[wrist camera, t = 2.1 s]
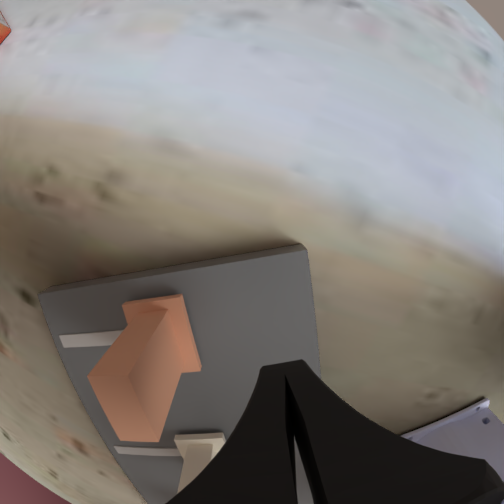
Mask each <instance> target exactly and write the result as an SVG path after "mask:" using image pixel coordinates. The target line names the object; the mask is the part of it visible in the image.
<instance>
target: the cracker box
mask: <svg viewBox="0 0 504 504" xmlns="http://www.w3.org/2000/svg"><path fill="white" fill-rule="evenodd" d="M10 32H11V29H10V27H9V26H8V24H7V22H6V20H5V18H4V17H3V15H2V13H1V12H0V44H1V43H2V41H3V40H4V39H5V38H6V37H7V36H8V34H9V33H10Z"/></svg>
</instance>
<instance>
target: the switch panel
mask: <svg viewBox="0 0 504 504" xmlns="http://www.w3.org/2000/svg"><path fill="white" fill-rule="evenodd" d="M176 294H182V295H183V299H184V303H185V307H186V311H187V314H188V318H189V322H190V326H191V330H192V333H193V337H194V341H195V344H196V348H197V351H198V355H199V358H200V362H201V365H202V367H201V371H197V372H186V373H181V376H180V379H179V382H178V385H177V388H176V391H175V394H174V397H173V400H172V403H171V406H170V409H169V412H168V415H167V418H166V421H165V425H164V428H163V431H162V434H161V437H160V440H159V442H137V441H120V439H119V438H118V436H117V434H116V432H115V431H114V429H113V427H112V425H111V423H110V422H109V420H108V418H107V416H106V414H105V412H104V410H103V408H102V407H101V405H100V403H99V401H98V399H97V397H96V395H95V392H94V390H93V388H92V386H91V384H90V382H89V380H88V378H87V375H88V374H89V373H90V372H91V370H92V369H93V368H94V366H95V365H96V364H97V363H98V361H99V360H100V359H101V358H102V356H103V355H104V354H105V353H106V351H107V350H108V349H109V348H110V346H111V345H112V344H113V343H114V341H115V340H116V339H117V338H118V336H119V335H120V334H121V333H122V332H123V330H124V329H125V328H126V327H127V325H128V324H127V321H126V317H125V314H124V311H123V308H122V305H123V304H124V303H125V302H127V301H135V300H142V299H149V298H156V297H163V296H170V295H176ZM38 297H39V301H40V304H41V307H42V310H43V313H44V316H45V318H46V321H47V324H48V327H49V330H50V332H51V335H52V337H53V340H54V343H55V345H56V347H57V350H58V352H59V355H60V357H61V359H62V362H63V364H64V366H65V369H66V371H67V373H68V375H69V377H70V379H71V381H72V384H73V386H74V388H75V390H76V392H77V394H78V396H79V398H80V400H81V402H82V404H83V405H84V407H85V409H86V411H87V413H88V415H89V416H90V418H91V420H92V422H93V424H94V425H95V427H96V429H97V430H98V432H99V434H100V436H101V437H102V439H103V440H104V442H105V444H106V445H107V447H108V448H109V450H110V452H111V453H112V455H113V456H114V458H115V459H116V461H117V462H118V464H119V465H120V467H121V468H122V470H123V471H124V472H125V474H126V475H127V477H128V478H129V479H130V481H131V482H132V483H133V485H134V486H135V487H136V489H137V490H138V491H139V493H140V494H141V495H142V497H143V498H144V499H145V500H146V502H147V503H148V504H165V503H167V502H168V501H169V500H171V499H172V498H173V497H174V496H175V495H176V494H177V492H178V487H179V482H180V477H181V472H182V468H183V463H184V459H183V457H182V456H181V454H180V452H179V450H178V448H177V446H176V443H175V441H174V438H175V435H185V434H207V433H221V432H223V434H224V437H225V440H226V441H227V439H228V438H229V436H230V435H231V433H232V432H233V430H234V429H235V427H236V425H237V423H238V421H239V420H240V418H241V416H242V414H243V413H244V411H245V409H246V407H247V404H248V402H249V400H250V398H251V395H252V393H253V391H254V388H255V385H256V382H257V379H258V376H259V371H260V369H261V367H262V366H266V365H272V364H278V363H284V362H289V361H295V360H300V359H303V360H304V361H306V363H307V364H308V365H309V367H310V368H311V369H312V370H313V372H314V373H315V374H316V375H317V376H318V377H319V378H320V379H321V372H320V360H319V349H318V339H317V328H316V319H315V309H314V300H313V292H312V283H311V275H310V267H309V259H308V252H307V249H306V248H305V247H304V246H303V245H302V244H298V245H292V246H286V247H280V248H274V249H268V250H262V251H256V252H251V253H245V254H239V255H233V256H227V257H221V258H215V259H210V260H204V261H198V262H192V263H186V264H180V265H174V266H168V267H163V268H157V269H151V270H145V271H139V272H133V273H127V274H122V275H116V276H110V277H104V278H98V279H92V280H86V281H80V282H74V283H69V284H63V285H57V286H51V287H49V288H47V289H46V290H44V291H42V292H40V293H39V294H38ZM294 443H295V462H296V483H297V498H298V504H314V503H313V498H312V494H311V490H310V487H309V484H308V480H307V477H306V474H305V470H304V467H303V464H302V461H301V457H300V454H299V451H298V447H297V444H296V441H295V437H294Z"/></svg>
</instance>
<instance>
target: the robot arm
mask: <svg viewBox="0 0 504 504" xmlns="http://www.w3.org/2000/svg"><path fill="white" fill-rule="evenodd" d="M489 402H490V400H489V399H488V398H485V399H483V400H481V401H479V402H477V403H475V404H473V405H471V406H469V407H467V408H465V409H463V410H461V411H459V412H457V413H455V414H453V415H450V416H448V417H446V418H444V419H441V420H439V421H437V422H434V423H432V424H430V425H427V426H425V427H422V428H419V429H417V430H414V431H412V432H409V433H406V434H403V435H401V436H399V435H397V434H394V433H392V432H391V431H389V430H387V429H385V428H383V427H381V426H379V425H378V424H376V423H374V422H373V421H371V420H370V419H368V418H366V417H365V416H363V415H362V414H360V413H359V412H358V411H356V410H355V409H354V408H352V407H351V406H350V405H348V404H347V403H346V402H345V401H343V400H342V399H341V398H340V397H339V396H337V395H336V394H335V393H334V392H333V391H332V390H331V389H330V388H329V387H328V386H327V385H326V384H325V383H324V382H323V381H322V380H321V379H320V378H319V377H318V376H317V375H316V374H315V373H314V372H313V370H312V369H311V368H310V367H309V365H308V364H307V363H306V361H304V360H303V359H300V360H295V361H289V362H284V363H278V364H272V365H266V366H262V367H261V369H260V371H259V376H258V379H257V382H256V385H255V388H254V391H253V393H252V395H251V398H250V400H249V402H248V404H247V407H246V409H245V411H244V413H243V414H242V416H241V418H240V420H239V421H238V423H237V425H236V427H235V429H234V430H233V432H232V433H231V435H230V436H229V438H228V439H227V441H226V442H225V444H224V445H223V446H222V448H221V449H220V450H219V452H218V453H217V454H216V455H215V457H214V458H213V459H212V460H211V461H210V462H209V464H208V465H207V466H206V467H205V468H204V469H203V470H202V471H201V472H200V473H199V475H198V476H197V477H196V478H195V479H194V480H192V481H191V482H190V483H189V484H188V485H187V486H186V487H185V488H183V489H182V490H181V491H180V492H179V493H178V494H176V495H175V496H174V497H173V498H172V499H171V500H169V501H168V502H167V503H165V504H298V498H297V483H296V462H295V443H294V437H295V441H296V444H297V447H298V451H299V454H300V457H301V461H302V464H303V467H304V470H305V474H306V477H307V480H308V484H309V487H310V490H311V494H312V498H313V503H314V504H504V424H503V423H502V422H501V421H500V420H499V419H498V418H497V417H496V415H495V414H494V413H493V412H492V411H491V410H490V409H489V408H488V405H489Z"/></svg>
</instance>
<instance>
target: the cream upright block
mask: <svg viewBox="0 0 504 504" xmlns="http://www.w3.org/2000/svg"><path fill="white" fill-rule="evenodd" d="M174 441H175V443H176V446H177V448H178V450H179V452H180V454H181V456H182V457H183V459H184V463H183V468H182V472H181V477H180V482H179V487H178V492H177V494H178V493H179V492H180V491H181V490H182V489H183V488H185V487H186V486H187V485H188V484H189V483H190V482H191V481H192V480H194V479H195V478H196V477H197V476H198V475H199V473H200V472H201V471H202V470H203V469H204V468H205V467H206V466H207V465H208V464H209V462H210V461H211V460H212V459H213V458H214V457H215V455H216V454H217V453H218V452H219V450H220V449H221V448H222V446H223V445H224V444H225V442H226V440H225V437H224V434H223V432H221V433H207V434H185V435H175V438H174Z"/></svg>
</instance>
